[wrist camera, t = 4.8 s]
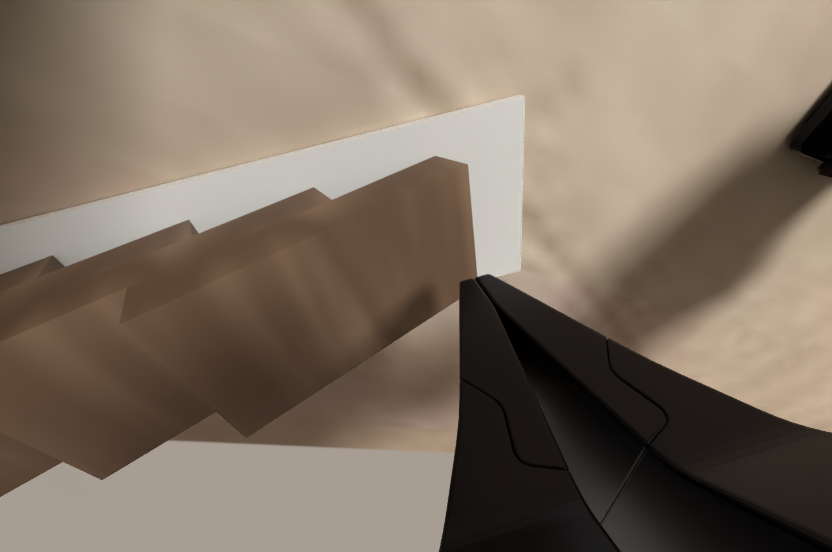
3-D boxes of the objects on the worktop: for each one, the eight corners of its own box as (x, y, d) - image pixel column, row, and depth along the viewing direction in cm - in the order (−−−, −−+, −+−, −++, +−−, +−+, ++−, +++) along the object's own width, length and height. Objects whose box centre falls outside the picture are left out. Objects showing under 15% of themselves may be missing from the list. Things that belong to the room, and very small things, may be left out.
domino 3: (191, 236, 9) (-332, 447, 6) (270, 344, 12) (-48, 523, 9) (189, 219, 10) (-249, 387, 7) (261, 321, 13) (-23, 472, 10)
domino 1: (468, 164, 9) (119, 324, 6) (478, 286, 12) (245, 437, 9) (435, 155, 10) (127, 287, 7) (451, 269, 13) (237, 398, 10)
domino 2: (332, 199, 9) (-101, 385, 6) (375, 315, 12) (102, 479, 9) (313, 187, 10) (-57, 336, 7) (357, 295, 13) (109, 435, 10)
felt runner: (519, 94, 10) (524, 95, 10) (516, 265, 14) (520, 270, 14) (-124, 256, 9) (-140, 263, 9) (76, 387, 14) (69, 395, 13)
